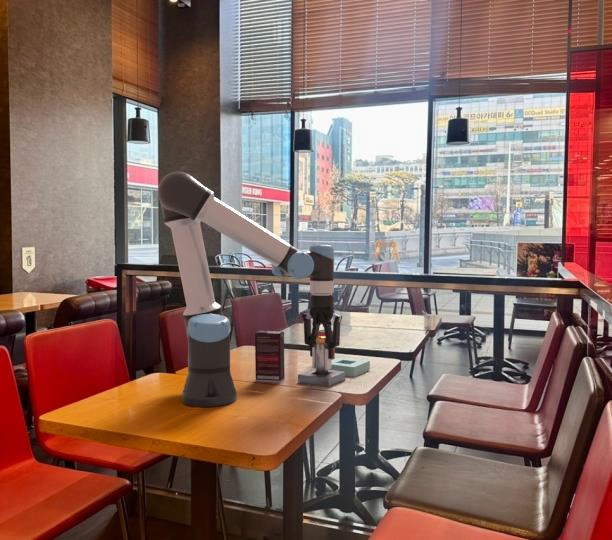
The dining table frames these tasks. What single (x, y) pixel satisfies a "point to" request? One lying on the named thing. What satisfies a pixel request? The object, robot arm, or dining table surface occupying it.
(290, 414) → the dining table surface
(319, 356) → the pin
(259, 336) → the supplement box
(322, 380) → the mount
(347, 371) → the socket block
